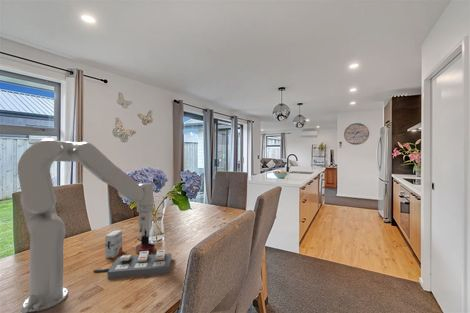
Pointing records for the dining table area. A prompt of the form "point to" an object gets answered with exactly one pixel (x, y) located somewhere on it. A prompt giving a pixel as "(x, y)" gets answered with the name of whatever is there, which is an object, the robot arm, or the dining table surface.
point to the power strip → (138, 267)
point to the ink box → (113, 244)
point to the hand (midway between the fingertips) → (145, 243)
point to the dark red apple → (145, 247)
